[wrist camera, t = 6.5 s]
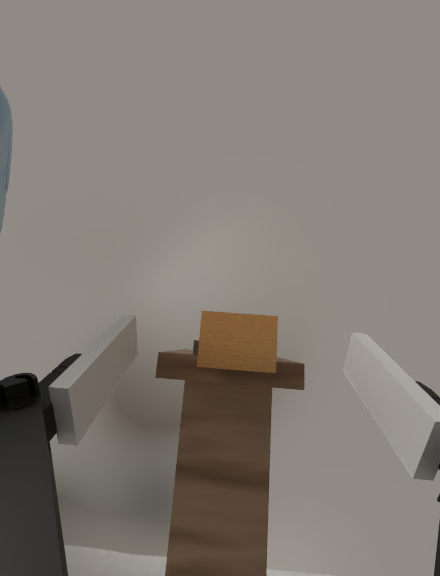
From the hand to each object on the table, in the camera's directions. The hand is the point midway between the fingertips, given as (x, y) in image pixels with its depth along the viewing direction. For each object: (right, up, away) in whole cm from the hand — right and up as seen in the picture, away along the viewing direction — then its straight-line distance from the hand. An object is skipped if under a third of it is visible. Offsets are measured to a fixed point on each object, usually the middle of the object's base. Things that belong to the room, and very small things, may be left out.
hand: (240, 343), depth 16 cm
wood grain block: (0, -3, +7) cm, 8 cm away
